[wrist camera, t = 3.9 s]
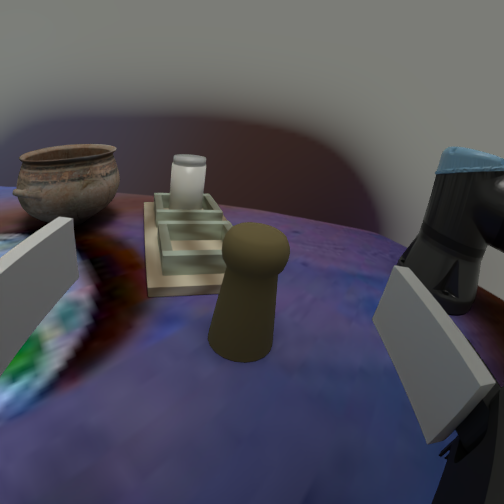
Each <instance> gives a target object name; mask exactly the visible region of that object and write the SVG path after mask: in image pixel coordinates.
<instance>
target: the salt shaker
mask: <svg viewBox="0 0 504 504" xmlns="http://www.w3.org/2000/svg"><path fill="white" fill-rule="evenodd" d="M205 161H206V158H205V157H203V156H198V155H187V154H181V155H175V156H174V162H173V163H172V172H171V185H170V186H171V187H170V200H169V210H202V201H203V190H204V181H205V173H206V165H205Z"/></svg>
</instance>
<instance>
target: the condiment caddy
mask: <svg viewBox="0 0 504 504" xmlns="http://www.w3.org/2000/svg"><path fill="white" fill-rule="evenodd" d="M169 200H170V193H154V202H144V232H145V257H146V274H147V288H148V297H163V296H184V295H203V294H219V292H220V288H221V284H222V281H223V277H224V274H225V270H226V264H225V262H224V260H223V257H222V243H223V239H224V237H225V234H226V233H227V232H228V230H229V229H230V228H231V227H233V226H232V224H231V223H230V222H229V221H227V220H226V218H225V217H224V216H223V212H222V211H221V209H220V208H219V206H218V205H217V204H216V202H215V201H214V200H213V198H212V197H211V195H210V194H203V201H202V210H169Z"/></svg>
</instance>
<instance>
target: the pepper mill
mask: <svg viewBox="0 0 504 504" xmlns="http://www.w3.org/2000/svg"><path fill="white" fill-rule="evenodd" d="M289 255H290V246H289V243H288V240H287V237H286V236H285V235H284V234H283V233H282V232H281V231H280V230H278V229H276V228H274V227H272V226H269V225H265V224H261V223H252V222H247V223H240V224H238V225H235V226H233V227H231V228H230V229H229V230H228V232H227V233H226V234H225V237H224V239H223V243H222V257H223V260H224V262H225V264H226V270H225V274H224V277H223V281H222V284H221V288H220V292H219V295H218V299H217V303H216V307H215V310H214V314H213V318H212V321H211V325H210V329H209V333H208V341H209V344H210V346H211V347H212V349H213V350H214V351H215V352H216V353H217V354H219V355H220V356H222V357H223V358H226V359H229V360H232V361H235V362H252V361H257V360H259V359H261V358H264V357H265V356H266V355H267V354H268V353H269V352H270V350H271V347H272V342H273V331H274V318H275V306H276V293H277V280H278V274H279V273H280V272H282V271H283V269H284V267H285V266H286V264H287V262H288V259H289Z"/></svg>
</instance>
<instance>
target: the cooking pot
mask: <svg viewBox="0 0 504 504" xmlns="http://www.w3.org/2000/svg"><path fill="white" fill-rule="evenodd" d="M115 150H116V147H114V146H110V145H102V144H75V145H63V146H55V147H49V148H44V149H39V150H35V151H31V152H28V153H25V154H23V155H21V156H20V157H19V159H20V161H22V162H23V163H22V166H21V169H20V172H19V176H18V181H17V189H14V190H13V195H14V196H18V199H19V202H20V204H21V206H22V207H23V209H24V210H25V211H26V212H27V213H28V214H29V215H31V216H33V217H35V218H37V219H39V220H41V221H44V222H47V223H50V222H51V221H53V220H55V219H56V218H58V217H66V218H73V224H74V226H76V225H79V224H81V223H83V222H85V221H86V220H87V219H89V218H90V217H92V216H94V215H95V214H96V213H98V212H99V211H101V210H102V209H104V208H105V207H106V206H107V205H108V204H109V203H110V202H111V201H112V199H113V198H114V196H115V194H116V192H117V189H118V186H119V172H118V168H117V165H116V161H115V159H114V156H113V152H114V151H115Z"/></svg>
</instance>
